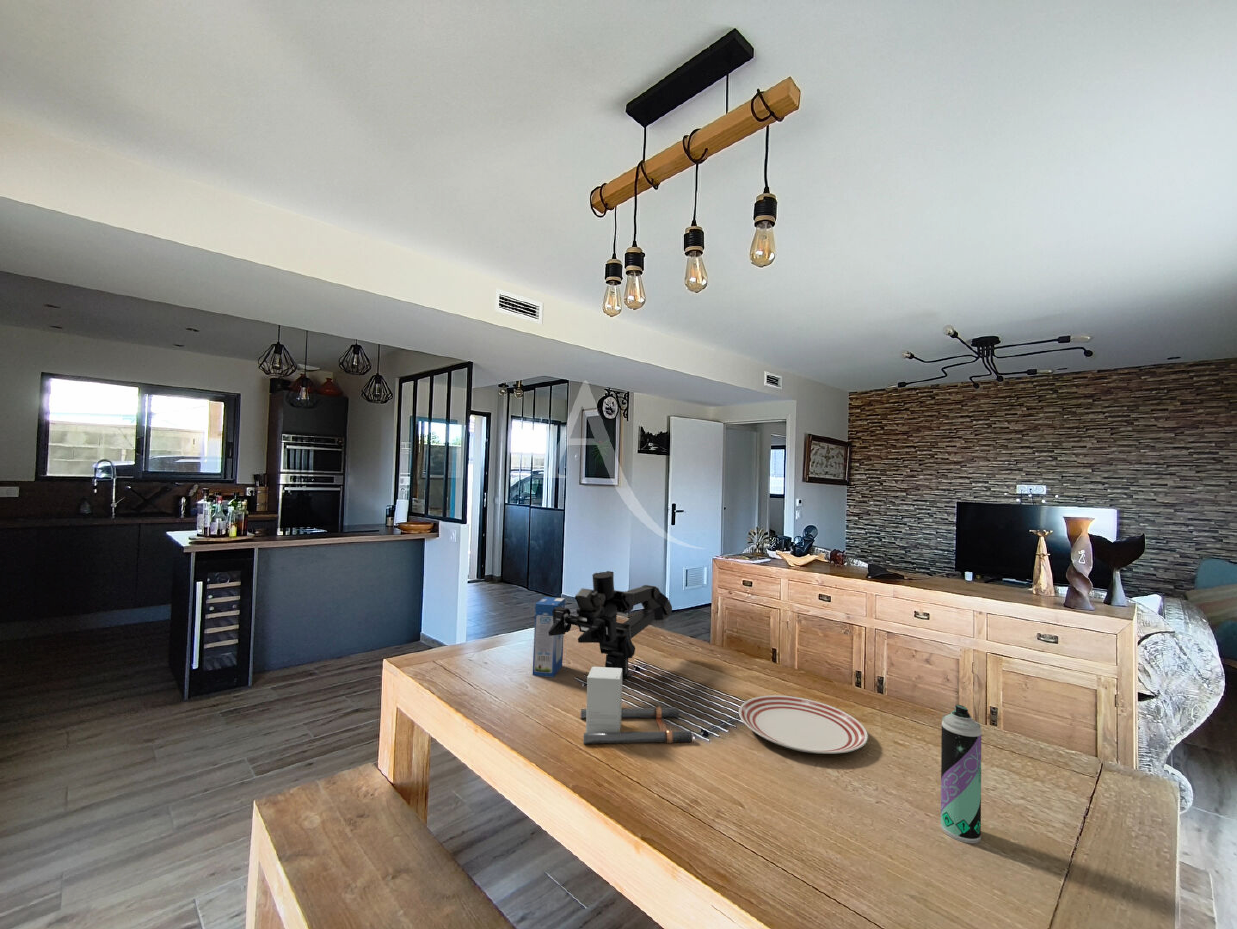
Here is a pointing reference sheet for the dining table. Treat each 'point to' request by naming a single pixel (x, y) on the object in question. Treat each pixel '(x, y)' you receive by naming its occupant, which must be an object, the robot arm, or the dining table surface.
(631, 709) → the pipe track
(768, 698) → the dinner plate
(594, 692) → the supplement box
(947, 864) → the dining table surface
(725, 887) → the dining table surface
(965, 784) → the spray can
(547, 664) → the milk carton
